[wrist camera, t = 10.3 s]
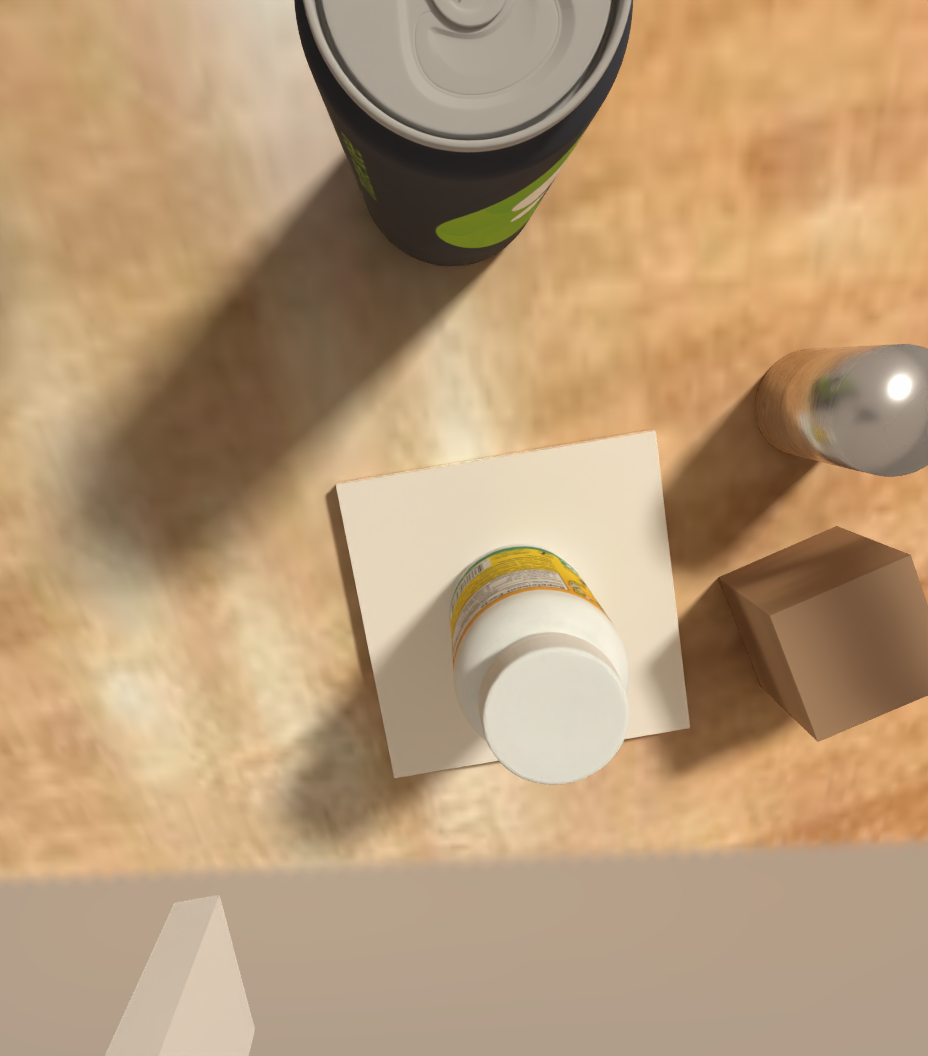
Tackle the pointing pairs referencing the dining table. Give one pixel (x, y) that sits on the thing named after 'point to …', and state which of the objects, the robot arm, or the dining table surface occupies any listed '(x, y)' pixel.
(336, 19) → the beverage can
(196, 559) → the dining table surface
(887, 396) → the cylinder
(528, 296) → the dining table surface
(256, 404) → the dining table surface
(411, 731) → the coaster
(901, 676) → the walnut block
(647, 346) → the dining table surface
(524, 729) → the supplement bottle
